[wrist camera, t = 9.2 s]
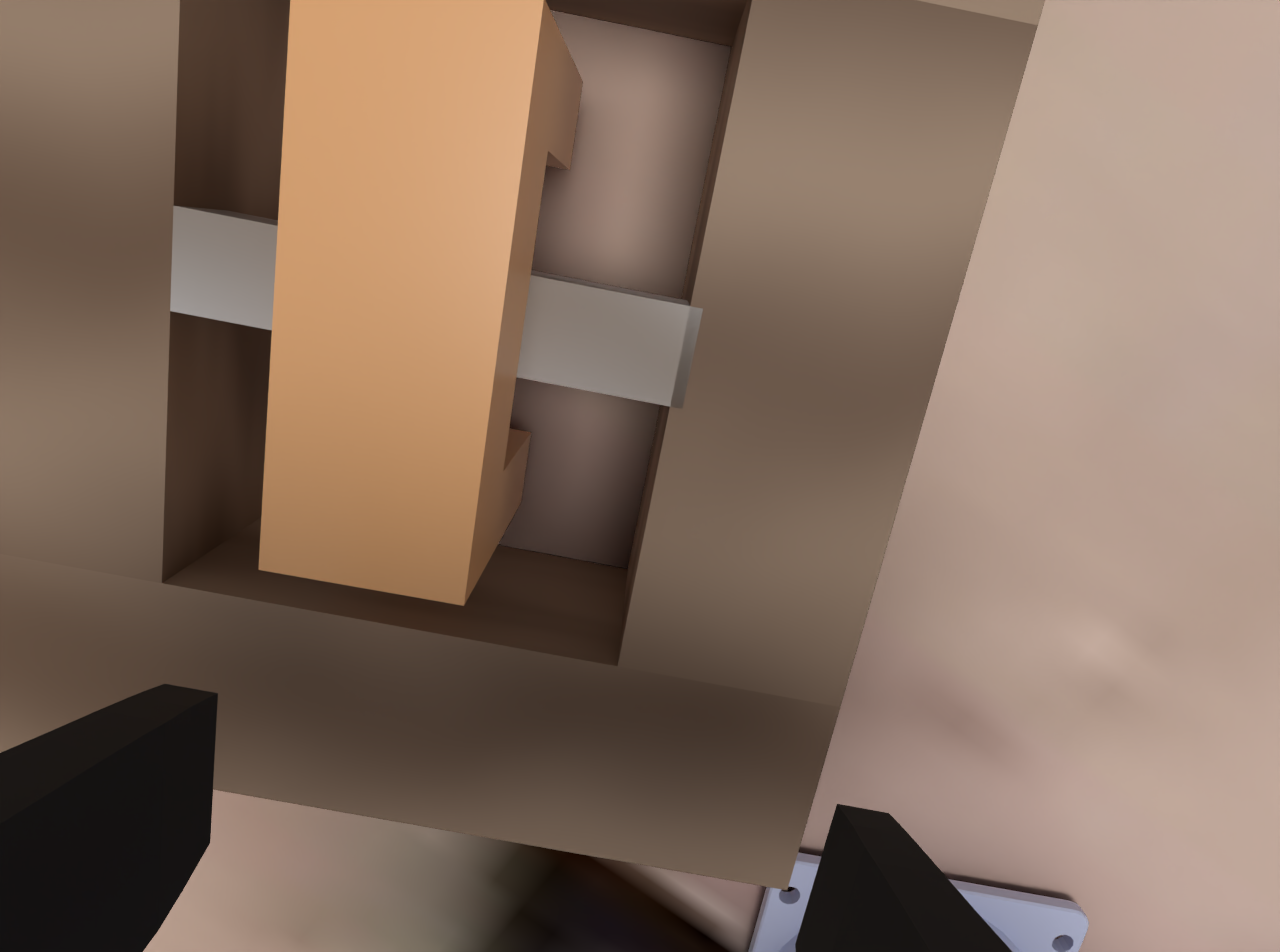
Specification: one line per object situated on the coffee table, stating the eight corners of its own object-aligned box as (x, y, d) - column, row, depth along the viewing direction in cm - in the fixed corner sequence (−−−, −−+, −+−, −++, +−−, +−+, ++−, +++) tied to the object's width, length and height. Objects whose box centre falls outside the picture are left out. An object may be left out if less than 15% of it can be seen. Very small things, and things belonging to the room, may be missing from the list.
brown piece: (759, 749, 20) (787, 890, 15) (100, 631, 19) (-62, 741, 15) (996, -151, 15) (1137, -320, 10) (110, -339, 14) (-131, -597, 10)
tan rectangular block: (520, 502, 17) (463, 606, 12) (375, 476, 17) (257, 569, 12) (582, 81, 14) (544, -3, 10) (416, 49, 14) (292, -51, 10)
